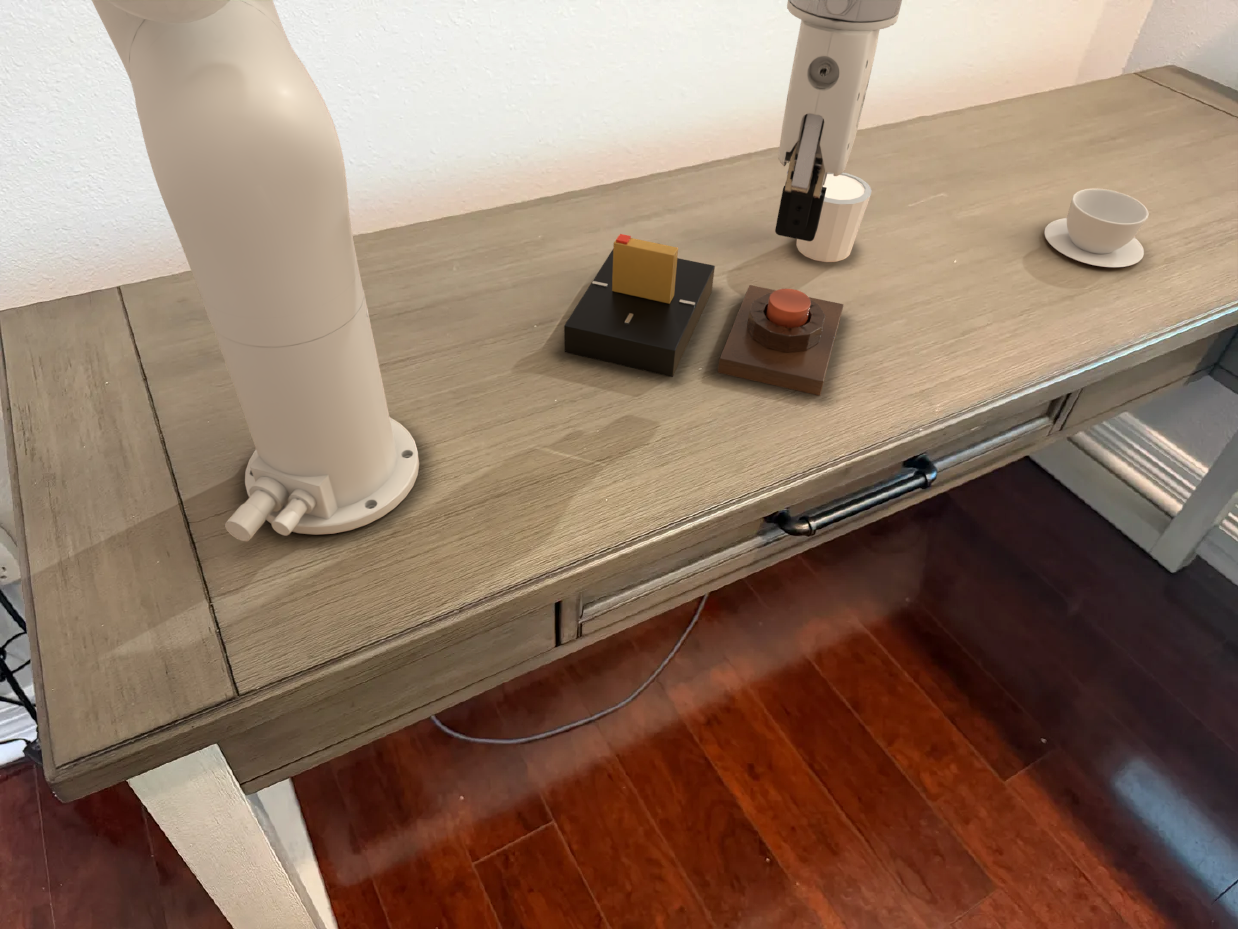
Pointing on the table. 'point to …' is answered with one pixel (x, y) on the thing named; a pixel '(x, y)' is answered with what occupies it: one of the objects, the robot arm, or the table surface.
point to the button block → (780, 344)
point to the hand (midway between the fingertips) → (795, 232)
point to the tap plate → (639, 320)
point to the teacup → (1100, 228)
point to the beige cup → (838, 218)
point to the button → (788, 308)
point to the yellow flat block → (644, 269)
